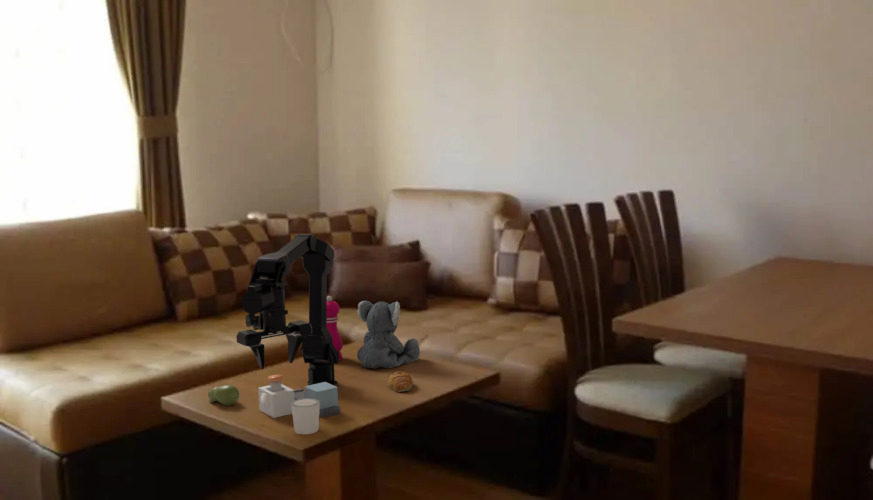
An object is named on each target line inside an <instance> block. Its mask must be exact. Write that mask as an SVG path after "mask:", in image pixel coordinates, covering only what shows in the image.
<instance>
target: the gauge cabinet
mask: <svg viewBox="0 0 873 500" xmlns="http://www.w3.org/2000/svg"><path fill="white" fill-rule="evenodd" d="M281 387H282V390H281V391H276V392H271V391H270V384H268V385H265V386H259V387H257V389H258V390H257V391H258V392H257V394H258V408H259V411H260V412H262V413H264V414H266V415H268V416H270V417H271V418H273V419H276V418H279V417H283V416H287V415H292V408H291V403H292V402H293V401H295V400H294V390H295V389H293V388H291V387H289V386H286V385H284V384H283V383H281Z"/></svg>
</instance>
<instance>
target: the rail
mask: <svg viewBox="0 0 873 500" xmlns="http://www.w3.org/2000/svg"><path fill="white" fill-rule="evenodd" d="M293 390H294V400H298V399H304V398H305V391H304V388H296V389H293ZM320 414H321V415H320V418H322V419H323V418H327V417H331V416H332V417H333V416H335V415H339V414H341V406H340V405H338V406H333V407H329V408H325V409H321V410H320Z"/></svg>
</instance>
